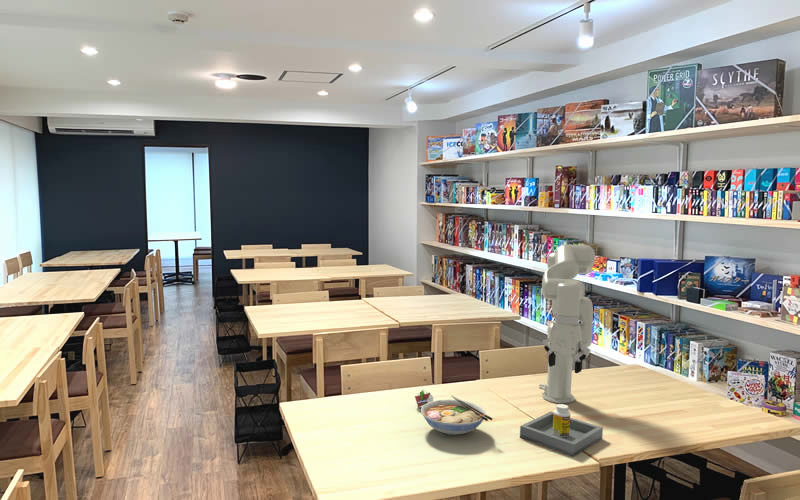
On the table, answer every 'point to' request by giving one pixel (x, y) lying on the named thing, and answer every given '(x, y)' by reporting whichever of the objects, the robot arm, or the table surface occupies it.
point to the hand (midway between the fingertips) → (564, 369)
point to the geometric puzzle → (423, 398)
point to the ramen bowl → (453, 416)
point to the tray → (575, 443)
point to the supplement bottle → (561, 421)
